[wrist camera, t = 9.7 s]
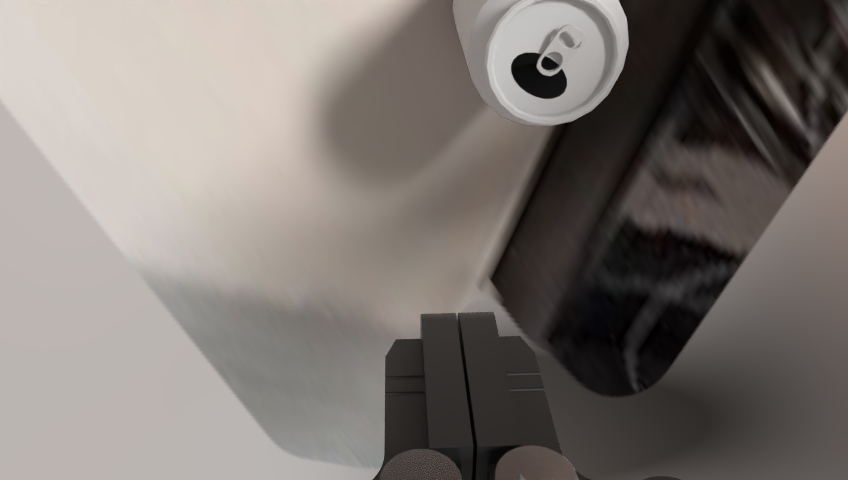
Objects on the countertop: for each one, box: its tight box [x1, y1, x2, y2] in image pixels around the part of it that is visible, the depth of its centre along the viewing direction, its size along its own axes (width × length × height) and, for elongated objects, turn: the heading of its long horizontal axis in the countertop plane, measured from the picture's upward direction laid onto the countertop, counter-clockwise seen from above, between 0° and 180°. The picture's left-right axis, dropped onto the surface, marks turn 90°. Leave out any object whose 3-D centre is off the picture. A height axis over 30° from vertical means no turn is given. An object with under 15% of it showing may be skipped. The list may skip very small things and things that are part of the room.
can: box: [452, 0, 629, 126], centre depth 36 cm, size 8×8×12 cm
